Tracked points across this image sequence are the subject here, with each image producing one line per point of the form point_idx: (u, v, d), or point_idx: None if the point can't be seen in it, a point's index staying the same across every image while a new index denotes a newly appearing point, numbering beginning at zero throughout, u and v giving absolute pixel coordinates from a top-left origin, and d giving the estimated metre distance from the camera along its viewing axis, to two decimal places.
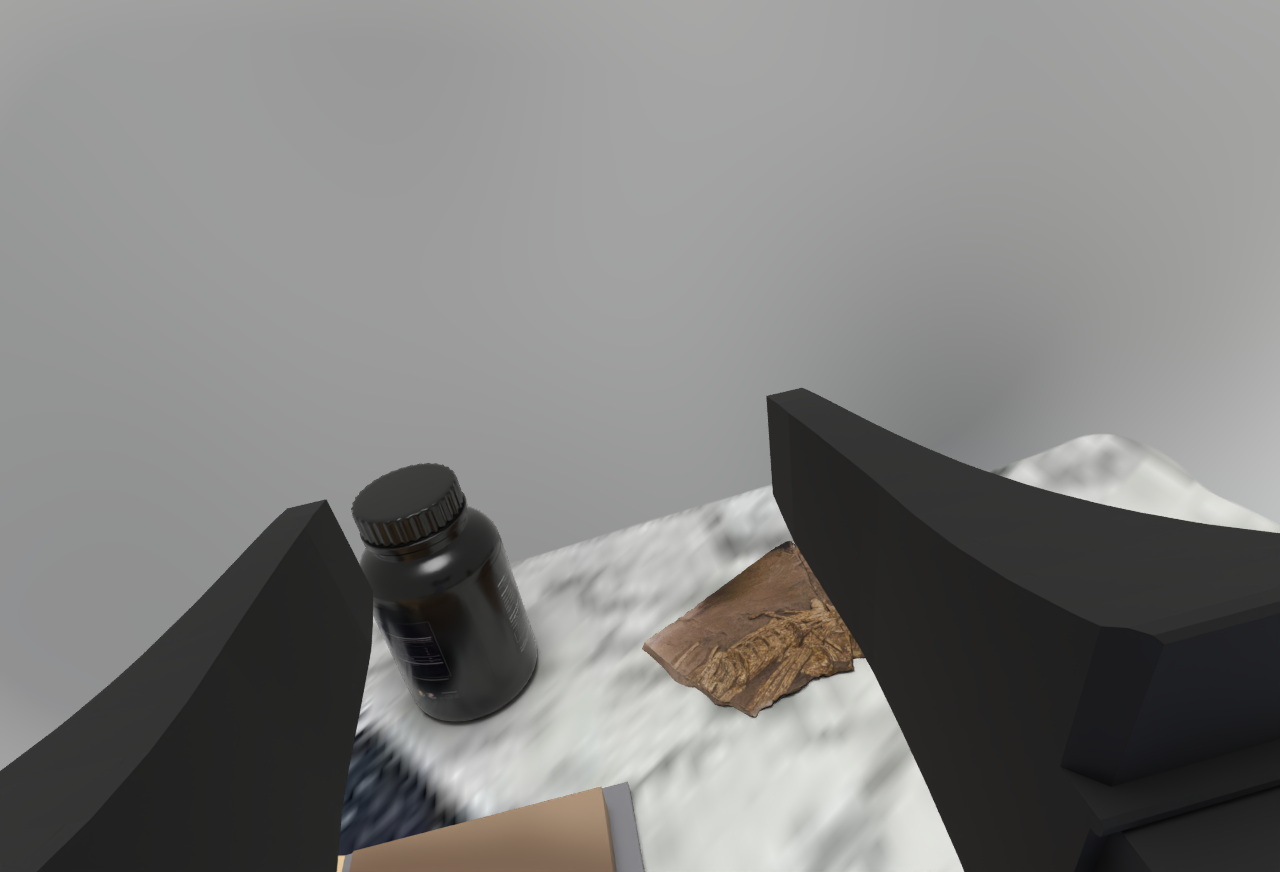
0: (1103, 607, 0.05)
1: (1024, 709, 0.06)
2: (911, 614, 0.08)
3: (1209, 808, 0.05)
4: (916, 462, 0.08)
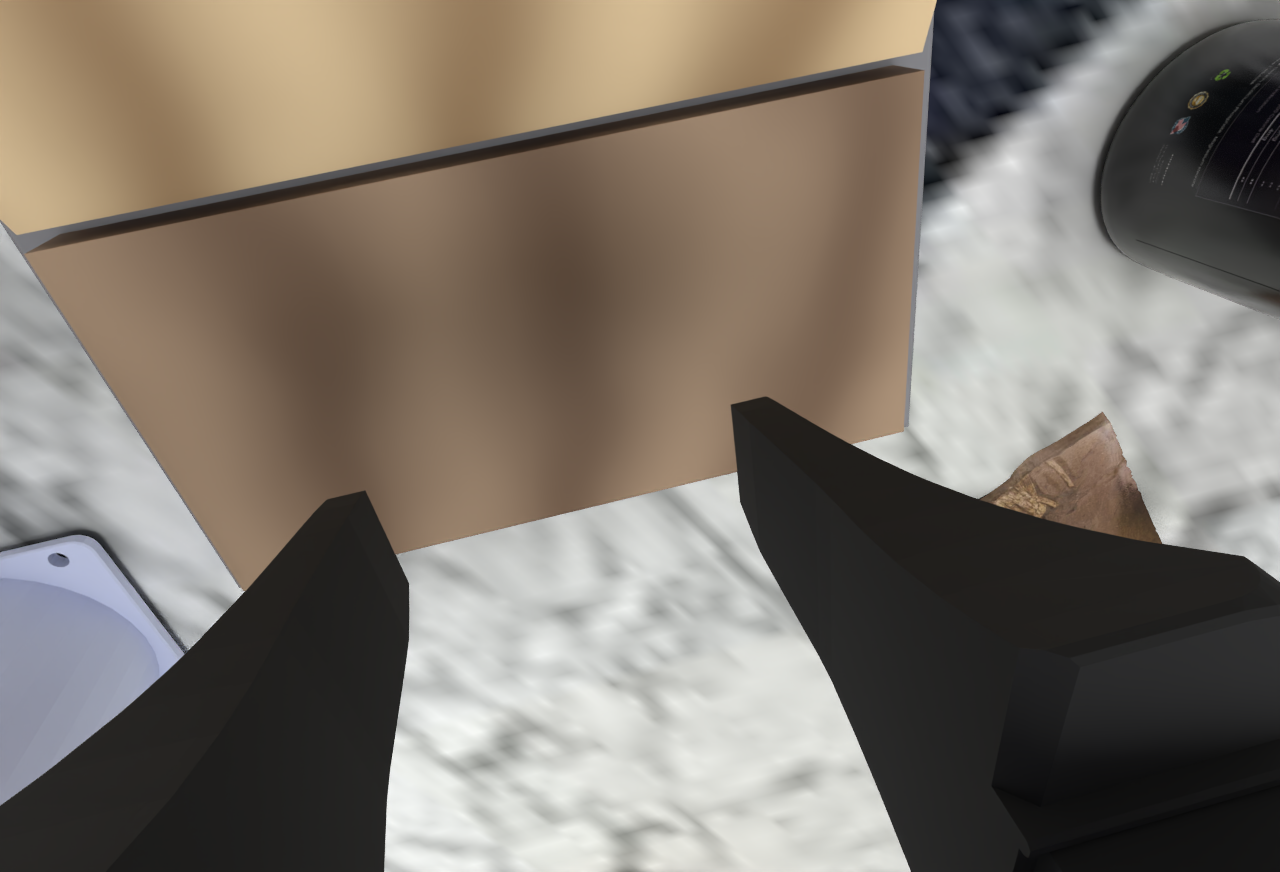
0: (1027, 626, 0.05)
1: (958, 727, 0.06)
2: (862, 627, 0.08)
3: (1138, 829, 0.05)
4: (868, 474, 0.08)
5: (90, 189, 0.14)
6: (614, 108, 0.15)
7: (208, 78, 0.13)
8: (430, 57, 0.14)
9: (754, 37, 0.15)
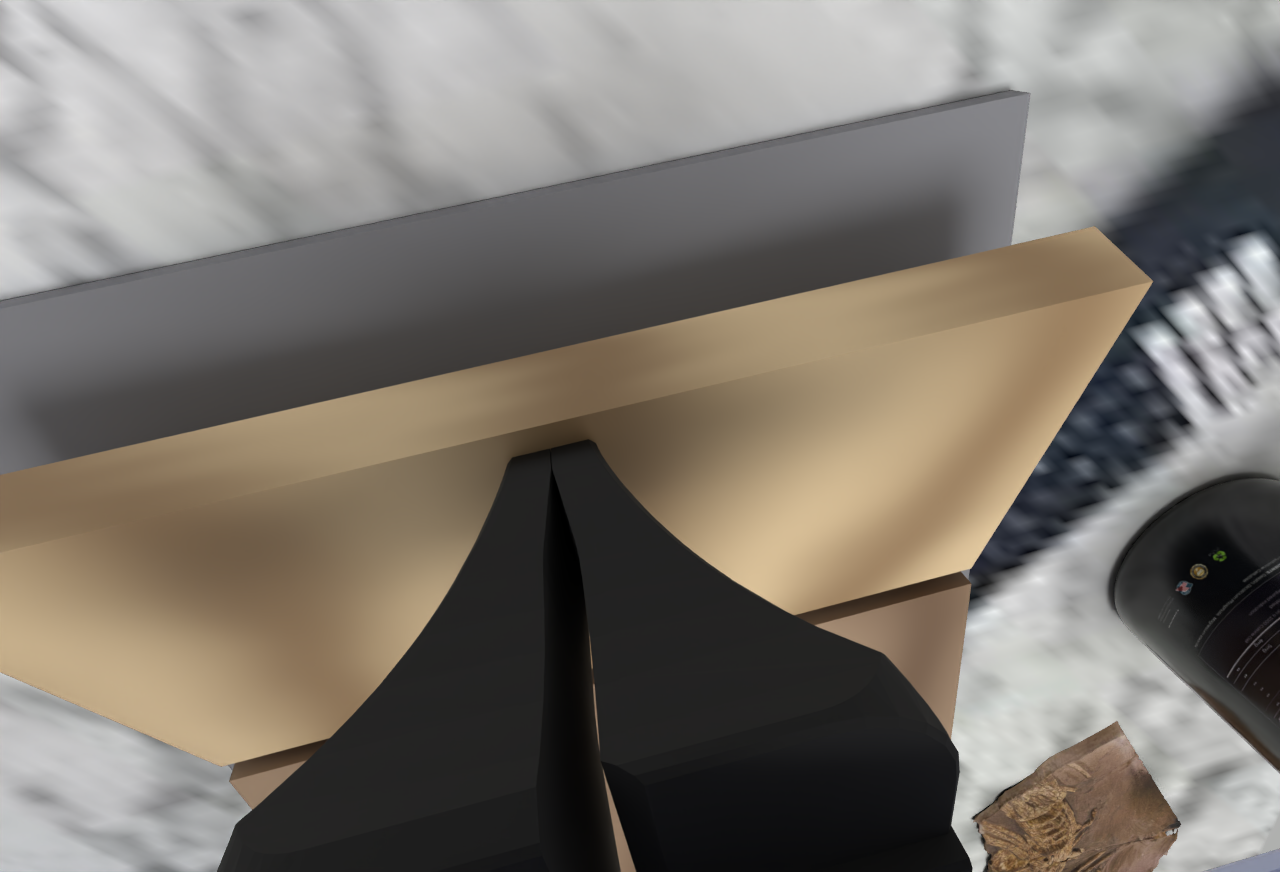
0: (629, 734, 0.05)
1: None
2: None
3: None
4: (628, 533, 0.08)
5: (288, 738, 0.17)
6: None
7: None
8: None
9: (834, 587, 0.18)
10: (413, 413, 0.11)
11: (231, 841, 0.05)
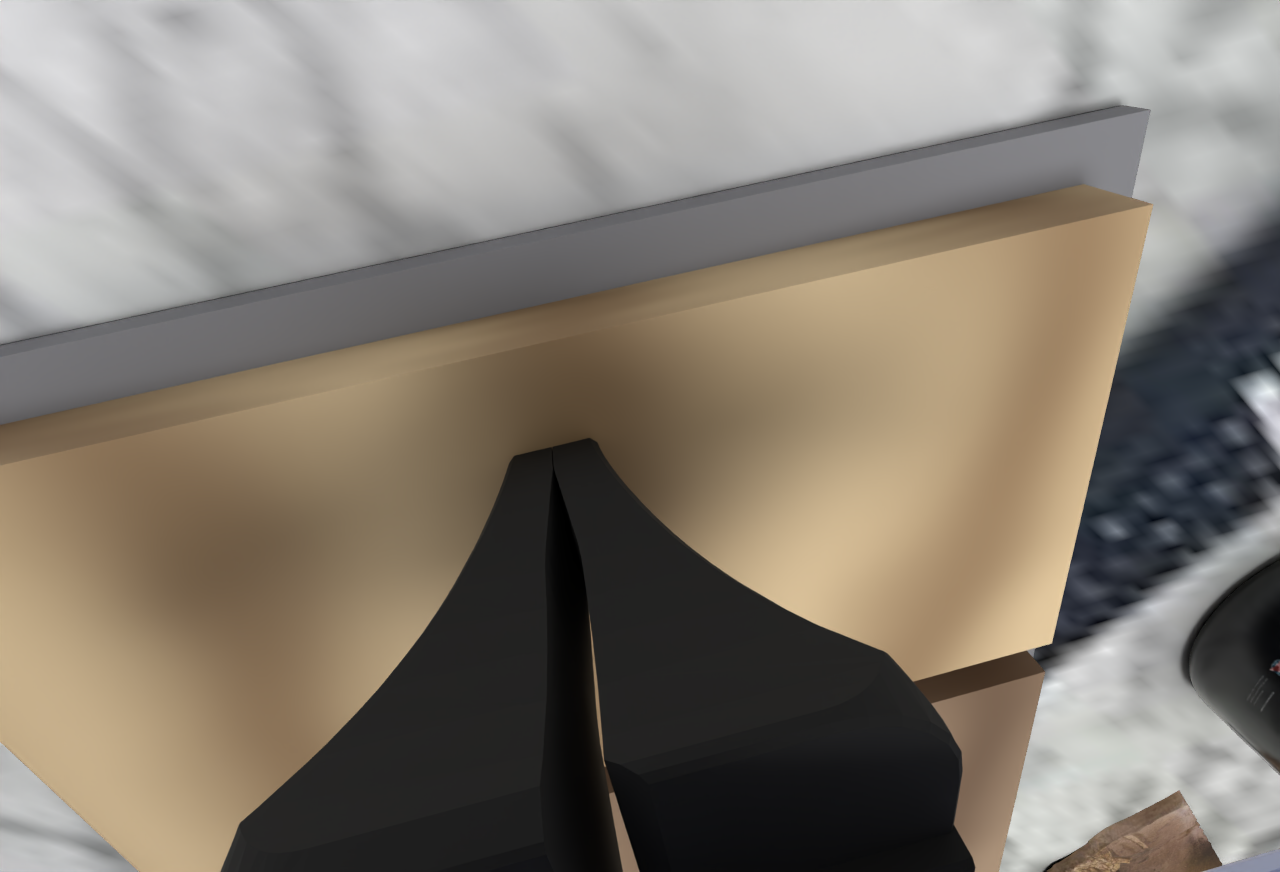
0: (632, 732, 0.05)
1: None
2: None
3: None
4: (630, 532, 0.08)
5: None
6: None
7: None
8: None
9: None
10: (391, 354, 0.11)
11: (234, 840, 0.05)
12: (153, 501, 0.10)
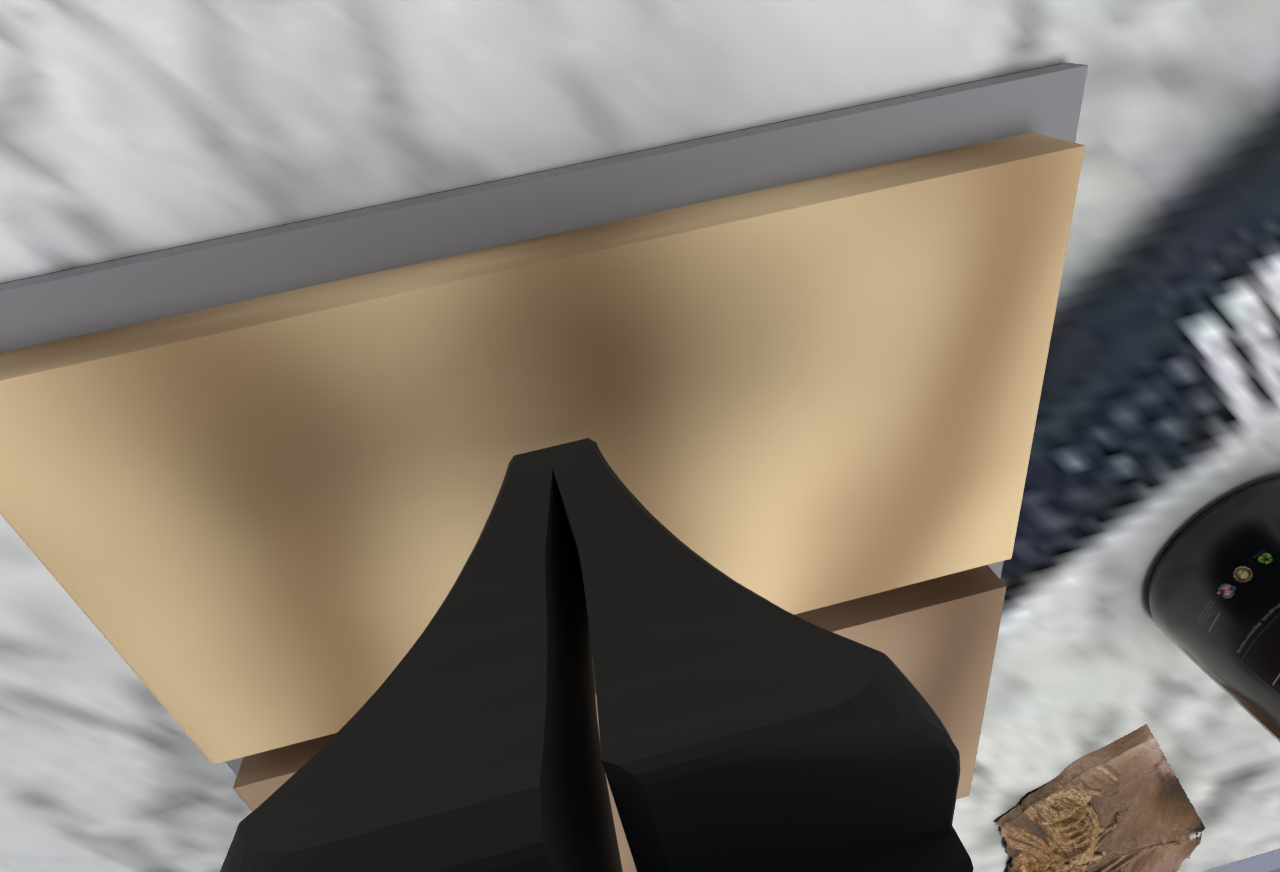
0: (631, 732, 0.05)
1: None
2: None
3: None
4: (629, 533, 0.08)
5: (285, 726, 0.16)
6: None
7: (403, 641, 0.16)
8: None
9: (860, 565, 0.17)
10: (425, 272, 0.12)
11: (234, 840, 0.05)
12: (225, 395, 0.12)
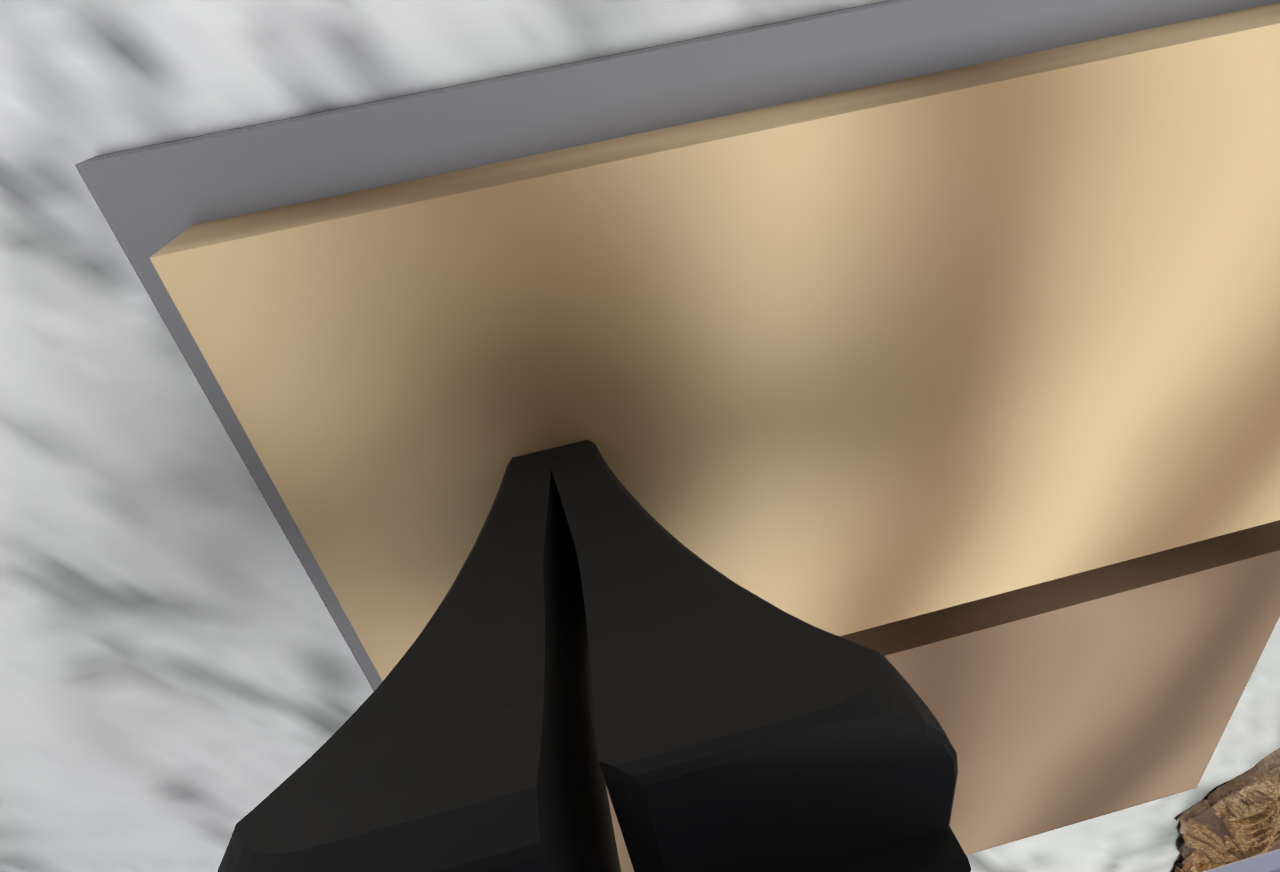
0: (628, 734, 0.05)
1: None
2: None
3: None
4: (627, 533, 0.08)
5: None
6: (1026, 582, 0.15)
7: None
8: (868, 559, 0.14)
9: (1175, 510, 0.14)
10: (778, 114, 0.10)
11: (232, 840, 0.05)
12: (535, 263, 0.09)
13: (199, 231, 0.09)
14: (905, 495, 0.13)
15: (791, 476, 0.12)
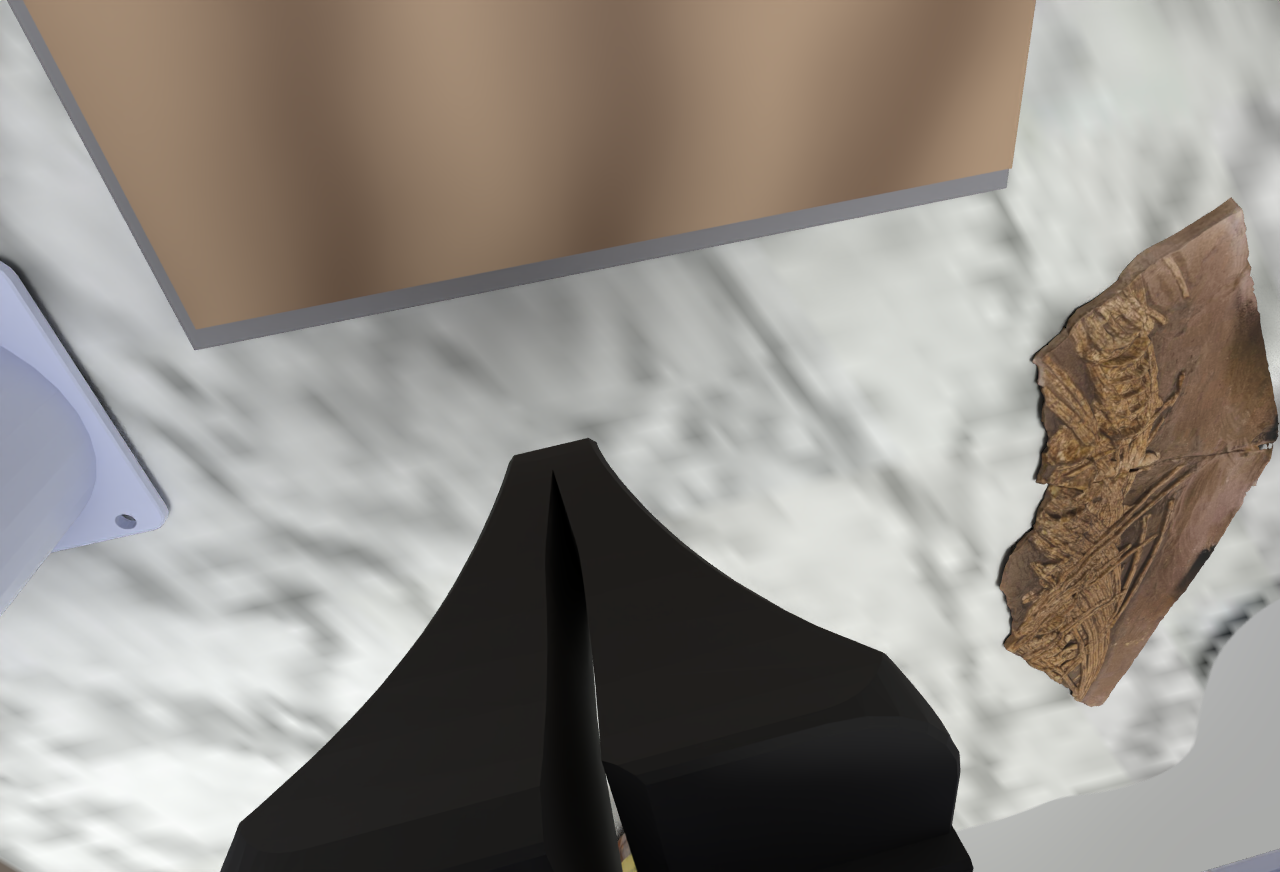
0: (631, 733, 0.05)
1: None
2: None
3: None
4: (629, 533, 0.08)
5: None
6: None
7: None
8: None
9: None
10: None
11: (235, 839, 0.05)
12: None
13: None
14: None
15: None
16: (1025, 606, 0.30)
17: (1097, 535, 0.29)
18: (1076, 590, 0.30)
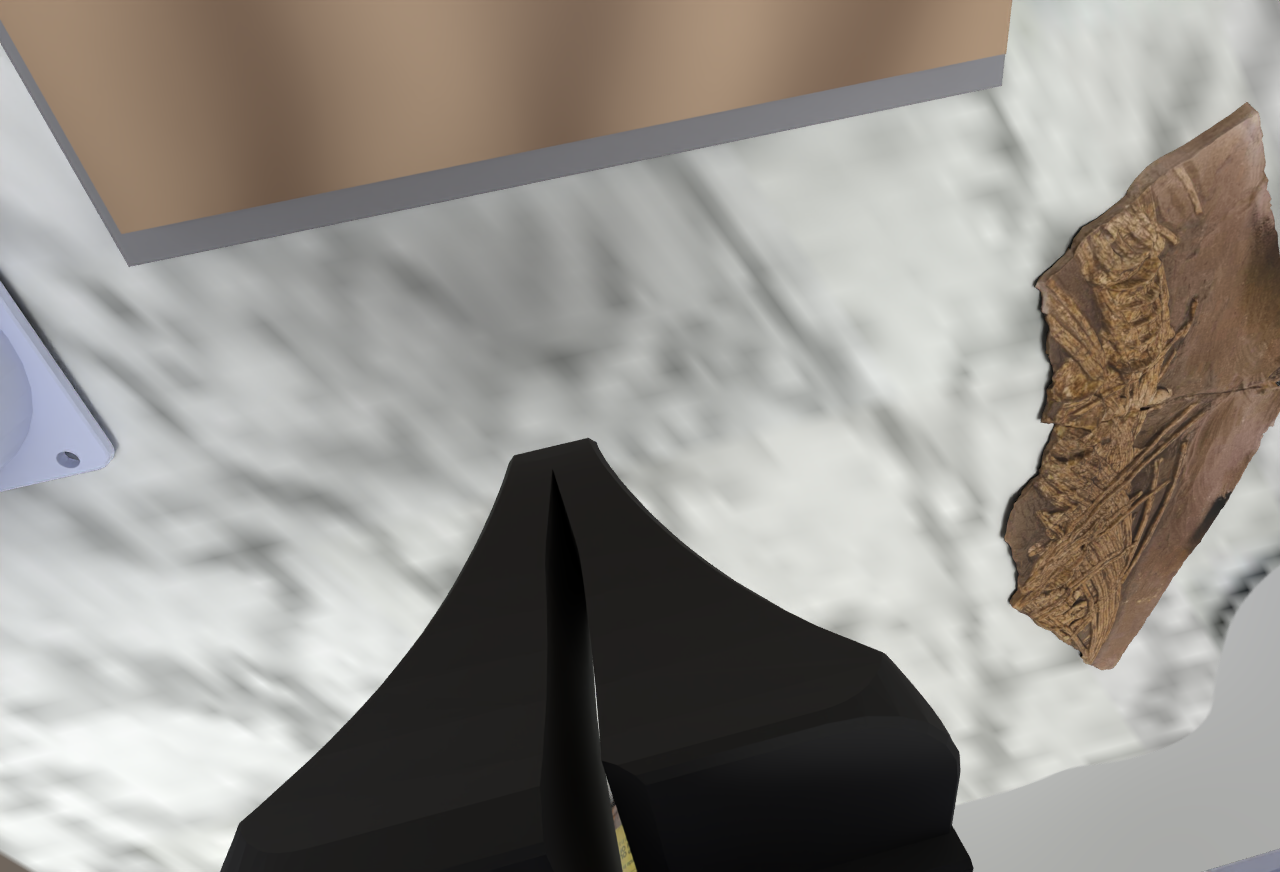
0: (631, 732, 0.05)
1: None
2: None
3: None
4: (629, 533, 0.08)
5: None
6: None
7: None
8: None
9: None
10: None
11: (235, 840, 0.05)
12: None
13: None
14: None
15: None
16: (1031, 559, 0.29)
17: (1107, 480, 0.27)
18: (1085, 541, 0.28)
